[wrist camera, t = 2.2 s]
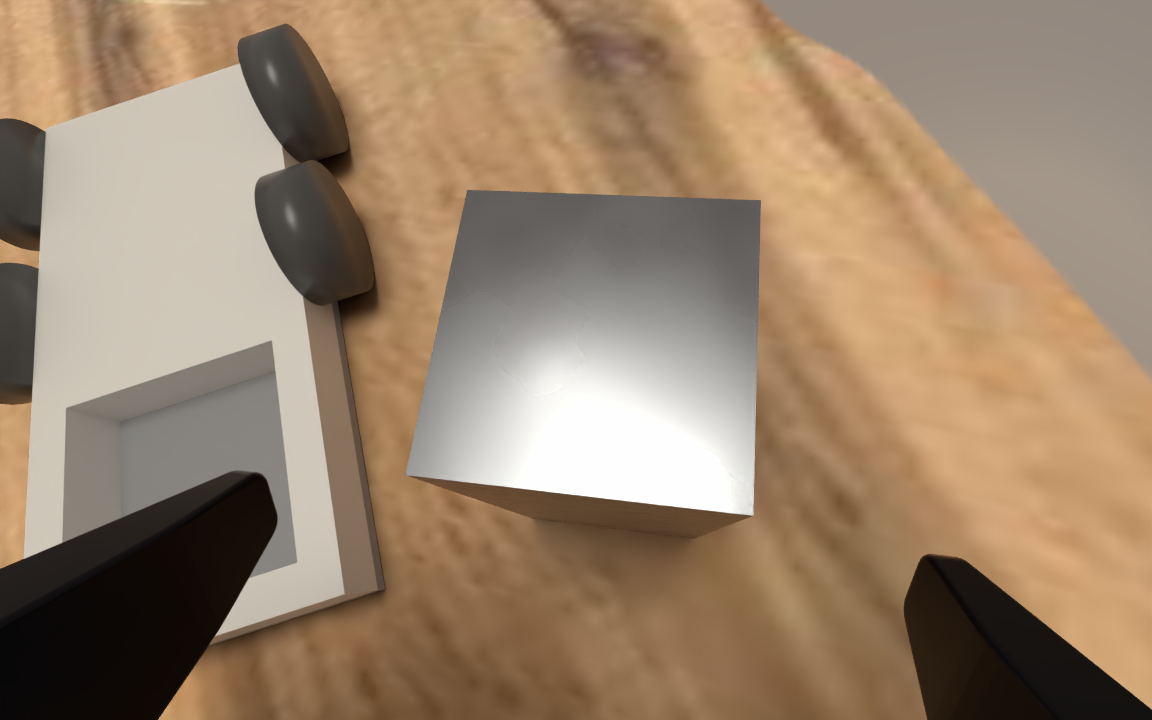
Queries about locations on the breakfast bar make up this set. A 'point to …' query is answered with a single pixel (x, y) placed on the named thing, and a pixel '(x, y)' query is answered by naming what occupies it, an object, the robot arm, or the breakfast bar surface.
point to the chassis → (194, 317)
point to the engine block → (598, 361)
